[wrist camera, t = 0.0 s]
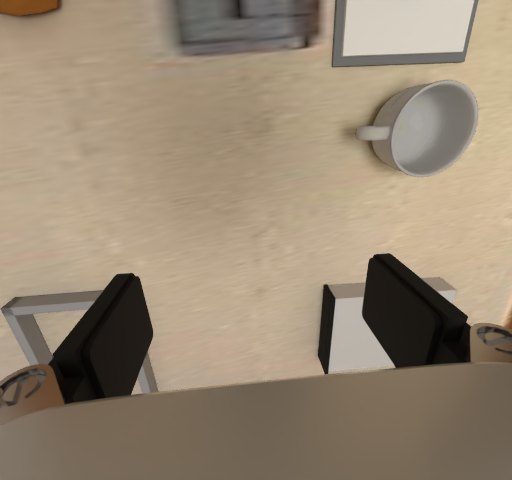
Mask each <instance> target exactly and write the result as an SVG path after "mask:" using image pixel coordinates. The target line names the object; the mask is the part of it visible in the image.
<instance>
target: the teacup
mask: <svg viewBox="0 0 512 480" xmlns="http://www.w3.org/2000/svg"><path fill="white" fill-rule="evenodd" d="M477 122H478V105H477V100H476V98H475V96H474V94H473V93H472V91H471V90H470V89H469V88H468V87H467V86H466V85H464V84H462V83H461V82H458V81H453V80H442V81H437V82H434V83H429V84H423V85H418V86H414V87H410V88H408V89H405V90H403V91H401V92H399V93H397V94H396V95H394V96H393V97H392V98H391V99H389V100H388V101H387V102H386V103H385V105H384V106H383V107H382V108H381V110H380V111H379V113H378V115H377V117H376V119H375V122H374V125H373V126H360V127H358V128H357V130H356V138H357V139H358V140H372V145H373V148H374V151H375V153H376V155H377V156H378V157H379V159H380V160H381V161H383V162H384V163H385V164H387V165H389V166H390V167H393V168H395V169H397V170H400V171H402V172H404V173H405V174H407V175H410V176H414V177H428V176H432V175H435V174H437V173H439V172H442V171H444V170H445V169H447V168H448V167H450V166H451V165H452V164H453V163H454V162H456V161H457V160H458V159H459V158H460V156H461V155H462V154H463V153H464V151H465V150H466V148H467V147H468V145H469V144H470V142H471V140H472V138H473V136H474V134H475V132H476V127H477Z"/></svg>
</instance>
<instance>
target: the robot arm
mask: <svg viewBox="0 0 512 480" xmlns="http://www.w3.org/2000/svg"><path fill="white" fill-rule="evenodd" d="M362 317H363V319H364V321H365V322H366V324H367V325H368V327H369V328H370V330H371V331H372V333H373V334H374V336H375V337H376V339H377V340H378V342H379V343H380V345H381V346H382V348H383V349H384V351H385V352H386V354H387V355H388V357H389V358H390V360H391V361H392V362H393V364H394V365H395V367H396V368H390V369H379V370H369V371H358V372H348V373H337V374H327V375H317V376H307V377H297V378H287V379H277V380H267V381H257V382H247V383H237V384H228V385H219V386H209V387H200V388H190V389H181V390H172V391H162V392H153V393H144V394H135V395H131V393H132V390H133V388H134V385H135V383H136V380H137V377H138V375H139V372H140V370H141V367H142V364H143V362H144V359H145V357H146V354H147V351H148V349H149V346H150V344H151V341H152V338H153V328H152V324H151V321H150V317H149V313H148V309H147V305H146V301H145V297H144V293H143V289H142V285H141V282H140V278H139V277H138V276H135V275H134V274H133V273H127V274H117V275H116V276H115V277H114V278H113V279H112V280H111V282H110V283H109V284H108V286H107V287H106V288H105V289H104V291H103V292H102V293H101V294H100V296H99V297H98V298H97V299H96V301H95V302H94V303H93V304H92V306H91V307H90V308H89V309H88V311H87V312H86V313H85V314H84V316H83V317H82V318H81V319H80V321H79V322H78V323H77V325H76V326H75V327H74V328H73V330H72V331H71V332H70V333H69V335H68V336H67V337H66V338H65V340H64V341H63V342H62V343H61V345H60V346H59V347H58V348H57V350H56V351H55V352H54V353H53V358H52V360H51V361H50V362H49V364H48V365H46V364H36V365H32V366H28V367H25V368H23V369H20V370H18V371H16V372H14V373H12V374H11V375H9V376H7V377H6V378H4V379H3V380H2V381H0V480H512V330H510V329H508V328H505V327H502V326H499V325H495V324H490V323H478V324H474V325H473V326H470V325H468V324H467V323H466V321H467V318H468V316H467V315H465V314H464V313H463V312H462V311H460V310H459V309H458V308H457V307H456V306H454V305H453V304H452V303H451V302H449V301H448V300H447V299H446V298H444V297H443V296H442V295H441V294H440V293H438V292H437V291H436V290H435V289H433V288H432V287H431V286H430V285H428V284H427V283H426V282H425V281H423V280H422V279H421V278H420V277H419V276H417V275H416V274H415V273H414V272H412V271H411V270H410V269H409V268H407V267H406V266H405V265H404V264H402V263H401V262H400V261H399V260H398V259H396V258H395V257H394V256H393V255H391V254H390V253H388V254H375V255H374V256H373V258H371V259H370V260H369V264H368V271H367V278H366V285H365V292H364V299H363V306H362Z"/></svg>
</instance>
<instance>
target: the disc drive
mask: <svg viewBox="0 0 512 480" xmlns="http://www.w3.org/2000/svg"><path fill="white" fill-rule="evenodd" d="M422 280H423V281H425V282H426V283H427V284H428V285H430V286H431V287H432V288H433V289H435V290H436V291H437V292H438V293H440V294H441V295H442V296H443V297H444V298H446V299H447V300H448V301H449V302H451V303H452V304H453V301H454V298H455V295H456V291H457V290H456V289H455V288H454V287H452V286H451V285H450V284H448V283H447V282H445V281H444V280H443V279H441V278H440V277H438V278H424V279H422ZM365 285H366V283H355V284H341V285H324V290H323V302H322V314H321V326H320V339H319V351H318V357H319V359H320V362H321V365H322V368H323V370H324V373H325V374H328V372H333V371H344V370H355V369H366V368H377V367H388V366H395V365H394V364H393V362H392V361H391V360H390V358H389V357H388V355H387V354H386V352H385V351H384V349H383V348H382V346H381V345H380V343H379V342H378V340H377V339H376V337H375V336H374V334H373V333H372V331H371V330H370V328H369V327H368V325H367V324H366V322H365V321H364V319H363V317H362V306H363V299H364V292H365Z"/></svg>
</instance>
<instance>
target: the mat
mask: <svg viewBox="0 0 512 480" xmlns="http://www.w3.org/2000/svg"><path fill="white" fill-rule="evenodd" d="M477 4H478V0H474V4H473V8H472V13H471V17H470V22H469V26H468V31H467V35H466V40H465V44H464V49H463V52H460V53H439V54H411V55H383V56H355V57H341V52H342V38H343V24H344V9H345V0H336V3H335V20H334V37H333V54H332V67H349V66H376V65H403V64H430V63H456V62H464V61H465V57H466V52H467V48H468V43H469V39H470V35H471V30H472V26H473V21H474V17H475V13H476V8H477Z"/></svg>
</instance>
